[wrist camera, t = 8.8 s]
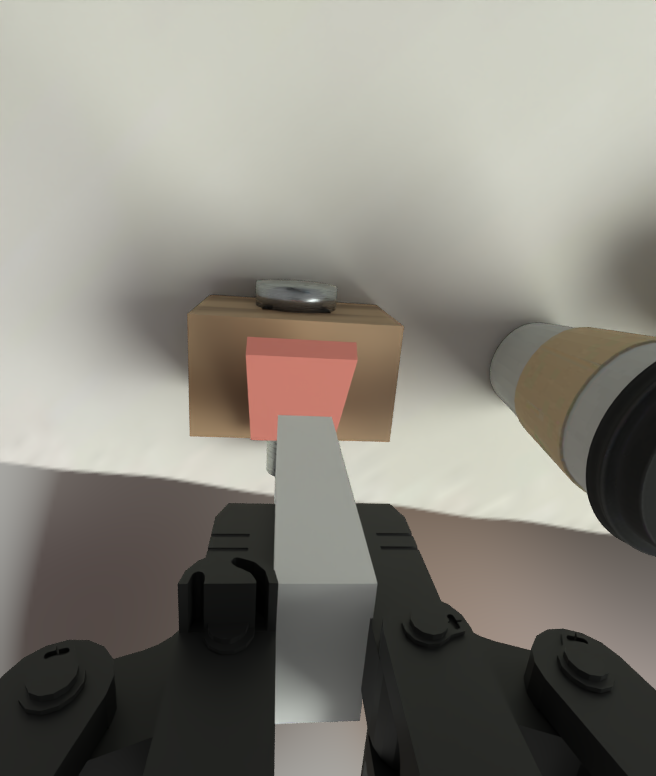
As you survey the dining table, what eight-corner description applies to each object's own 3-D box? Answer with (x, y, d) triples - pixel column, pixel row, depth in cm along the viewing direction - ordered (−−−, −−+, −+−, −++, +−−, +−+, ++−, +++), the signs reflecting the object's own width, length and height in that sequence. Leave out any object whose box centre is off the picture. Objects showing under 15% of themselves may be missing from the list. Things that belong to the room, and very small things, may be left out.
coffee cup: (458, 433, 32) (598, 592, 18) (470, 294, 29) (651, 353, 15) (588, 426, 33) (822, 574, 18) (612, 291, 30) (914, 343, 15)
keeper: (247, 336, 17) (245, 354, 16) (356, 342, 17) (357, 360, 17) (251, 425, 23) (250, 440, 22) (332, 427, 23) (333, 442, 23)
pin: (258, 277, 27) (253, 285, 23) (333, 282, 27) (341, 291, 23) (253, 451, 30) (249, 486, 26) (320, 453, 31) (326, 487, 27)
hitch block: (210, 294, 27) (187, 313, 21) (375, 304, 28) (403, 326, 22) (210, 390, 29) (189, 436, 23) (366, 396, 30) (389, 441, 24)
